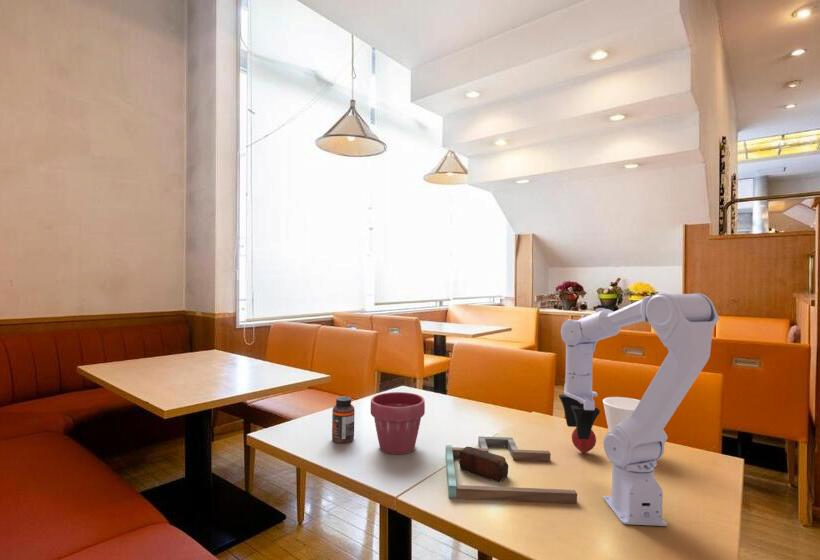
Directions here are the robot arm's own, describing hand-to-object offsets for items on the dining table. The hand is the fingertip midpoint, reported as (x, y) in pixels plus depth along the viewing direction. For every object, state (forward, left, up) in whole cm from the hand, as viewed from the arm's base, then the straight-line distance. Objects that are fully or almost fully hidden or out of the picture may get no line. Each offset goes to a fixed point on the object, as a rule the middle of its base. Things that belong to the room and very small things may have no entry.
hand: (577, 432), depth 99 cm
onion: (+13, -6, -10) cm, 18 cm away
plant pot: (+12, +42, -10) cm, 45 cm away
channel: (+2, +17, -10) cm, 20 cm away
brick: (-1, +21, -10) cm, 24 cm away
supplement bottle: (+16, +57, -10) cm, 60 cm away
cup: (+16, -18, -10) cm, 26 cm away
